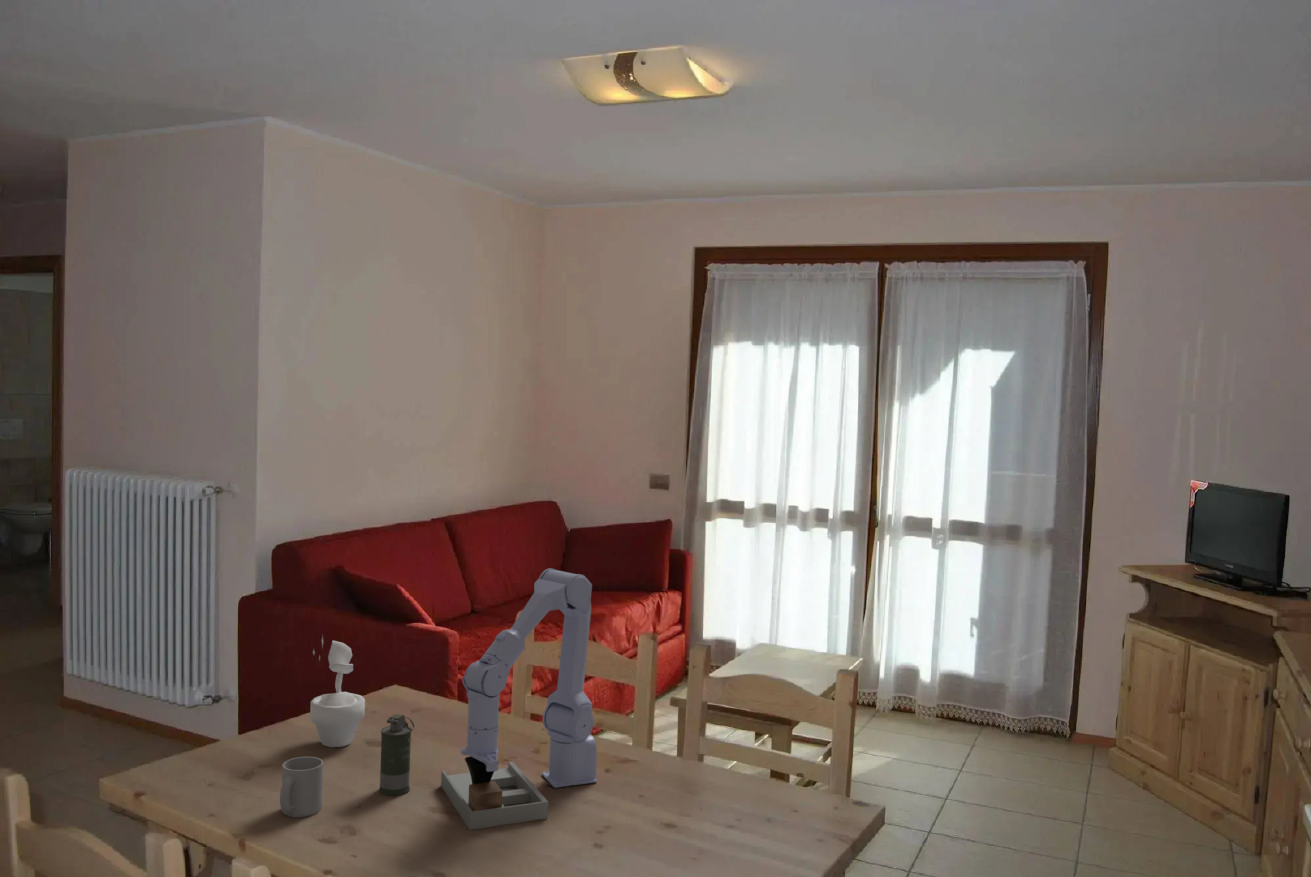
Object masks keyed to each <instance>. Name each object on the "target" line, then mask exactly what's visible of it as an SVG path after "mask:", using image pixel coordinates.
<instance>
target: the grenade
mask: <svg viewBox="0 0 1311 877" xmlns="http://www.w3.org/2000/svg"><path fill="white" fill-rule="evenodd" d="M406 719H408V720H409V722H410V723H411V724H412V728H411V727H410V726H409V724H408V722H407V721H406ZM386 723H388V724H390V725H388V726H385V727H383V728H382V729H381V730H380V734H381V737H380V738H381V741H380V742H381V744H380V745H381V746H380V771H379V772H380V773H379V774H380V776H379V777H380V778H379V789H378V792H379V794H380V795H383V796H387V797H398V796H402V795H406V794H407V793H409V792H410V790H411V788H410V773H411V770H410V768H411V746H412V745H411V743H412V742H411V740H412V732H413V730H414V729H415V724H414V722H413V720H412V719H411V718H409V717H407V716H406V717H405V715H404V714H399V713H398V714H397V713H394V714H392V715H391V716H389V717H388V719H386Z"/></svg>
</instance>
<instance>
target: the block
mask: <svg viewBox="0 0 1311 877" xmlns="http://www.w3.org/2000/svg"><path fill="white" fill-rule="evenodd" d="M468 806H469V807H470V809H471V810H472V811H478V810H485V809H493V808H500V807H502V790H501V789H500V787H499V786H498V785H497V784H496V782H495V781H494V782H486V783H478V784H470V785H469V801H468Z"/></svg>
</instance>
